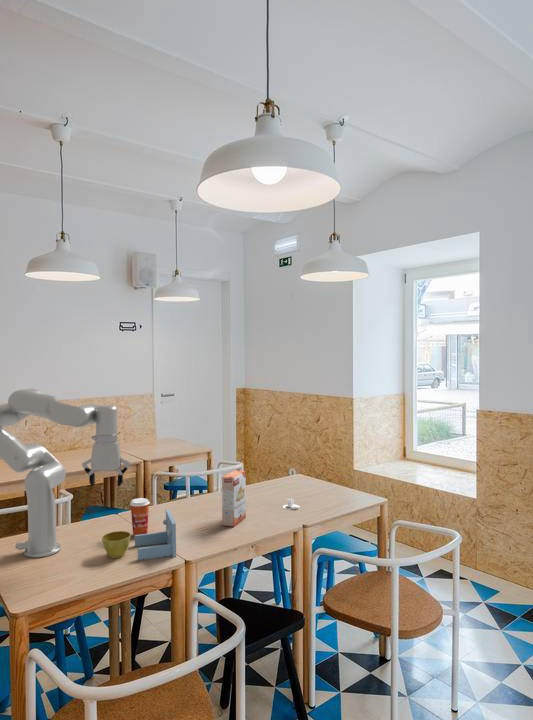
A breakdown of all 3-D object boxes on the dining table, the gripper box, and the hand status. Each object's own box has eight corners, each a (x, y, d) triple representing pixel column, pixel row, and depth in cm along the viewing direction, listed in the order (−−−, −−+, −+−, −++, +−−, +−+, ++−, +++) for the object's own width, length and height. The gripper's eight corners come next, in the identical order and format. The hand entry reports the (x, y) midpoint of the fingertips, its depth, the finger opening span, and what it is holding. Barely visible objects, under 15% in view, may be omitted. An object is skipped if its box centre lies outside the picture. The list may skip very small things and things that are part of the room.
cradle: (138, 561, 180) (137, 527, 180) (134, 544, 197) (134, 513, 197) (176, 556, 184) (175, 523, 184) (169, 539, 201) (168, 509, 201)
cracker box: (235, 527, 214) (234, 477, 214) (221, 526, 216) (220, 476, 216) (247, 517, 228) (246, 470, 227) (234, 516, 229) (233, 469, 229)
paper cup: (130, 539, 203) (129, 503, 202) (130, 532, 210) (129, 498, 210) (150, 536, 205) (150, 502, 204) (149, 530, 212) (149, 497, 212)
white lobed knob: (299, 510, 237) (299, 502, 237) (282, 511, 237) (282, 502, 237) (299, 505, 246) (298, 496, 246) (282, 505, 246) (282, 497, 246)
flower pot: (108, 563, 179) (108, 543, 179) (97, 555, 187) (97, 535, 187) (135, 555, 185) (135, 536, 185) (124, 548, 193) (123, 529, 193)
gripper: (79, 440, 184) (79, 488, 184) (128, 440, 185) (128, 487, 186) (85, 437, 191) (84, 483, 192) (132, 437, 193) (131, 482, 193)
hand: (106, 485), depth 189 cm, fingers open, 9 cm apart
